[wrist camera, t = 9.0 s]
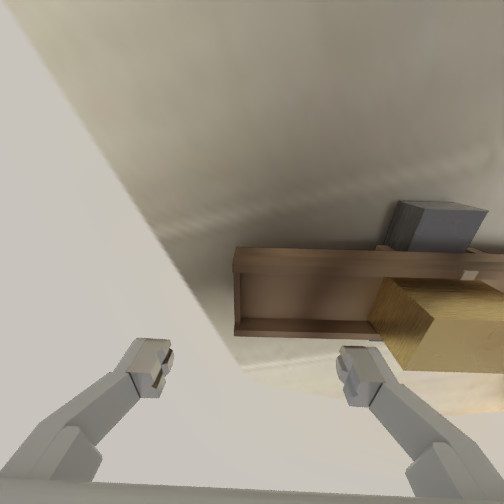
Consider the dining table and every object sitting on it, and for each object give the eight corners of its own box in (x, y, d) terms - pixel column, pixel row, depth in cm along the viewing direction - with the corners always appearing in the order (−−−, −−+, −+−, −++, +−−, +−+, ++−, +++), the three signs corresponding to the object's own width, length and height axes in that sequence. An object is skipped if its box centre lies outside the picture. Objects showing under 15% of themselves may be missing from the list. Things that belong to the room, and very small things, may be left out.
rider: (474, 276, 13) (557, 322, 9) (445, 321, 15) (506, 373, 11) (385, 273, 13) (434, 318, 9) (367, 318, 15) (403, 370, 11)
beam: (612, 251, 15) (710, 277, 11) (555, 312, 17) (622, 347, 14) (237, 241, 14) (232, 265, 11) (237, 304, 17) (234, 337, 14)
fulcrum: (452, 202, 15) (488, 210, 12) (395, 321, 20) (413, 342, 18) (398, 200, 15) (425, 208, 12) (356, 320, 20) (369, 341, 18)
